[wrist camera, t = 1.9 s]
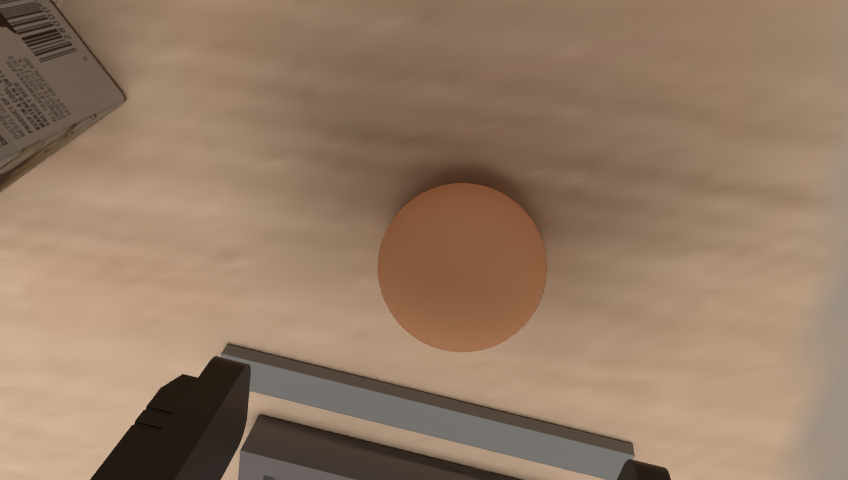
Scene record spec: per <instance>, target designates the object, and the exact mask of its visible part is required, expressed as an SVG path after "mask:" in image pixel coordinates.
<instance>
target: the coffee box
mask: <svg viewBox="0 0 848 480" xmlns="http://www.w3.org/2000/svg"><path fill="white" fill-rule="evenodd" d="M124 100H125V98H124V96H123V94H122V93H121V91H120V90H119V89H118V87H117V86H116V85H115V84H114V82H113V81H112V80H111V79H110V77H109V76H108V75H107V73H106V72H105V71H104V70H103V68H102V67H101V66H100V64H99V63H98V62H97V61H96V59H95V58H94V57H93V55H92V54H91V53H90V52H89V50H88V49H87V48H86V46H85V45H84V44H83V43H82V41H81V40H80V39H79V37H78V36H77V35H76V33H75V32H74V31H73V30H72V28H71V27H70V26H69V24H68V23H67V22H66V21H65V19H64V18H63V17H62V15H61V14H60V13H59V12H58V10H57V9H56V8H55V6H54V5H53V4H52V3H51V1H50V0H0V192H1V191H2V190H4V189H5V188H7V187H8V186H9V185H11V184H12V183H13V182H15V181H16V180H17V179H19V178H20V177H22V176H23V175H24V174H26V173H27V172H28V171H30V170H31V169H33V168H34V167H35V166H37V165H38V164H39V163H41V162H42V161H44V160H45V159H46V158H48V157H49V156H51V155H52V154H53V153H55V152H56V151H58V150H59V149H60V148H62V147H63V146H65V145H66V144H67V143H69V142H70V141H71V140H73V139H74V138H76V137H77V136H78V135H80V134H81V133H82V132H84V131H85V130H87V129H88V128H89V127H91V126H92V125H93V124H95V123H96V122H98V121H99V120H100V119H102V118H103V117H105V116H106V115H107V114H109V113H110V112H112V111H113V110H114V109H116V108H117V107H118V106H120V105H121V104H122V103H123V102H124Z"/></svg>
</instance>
